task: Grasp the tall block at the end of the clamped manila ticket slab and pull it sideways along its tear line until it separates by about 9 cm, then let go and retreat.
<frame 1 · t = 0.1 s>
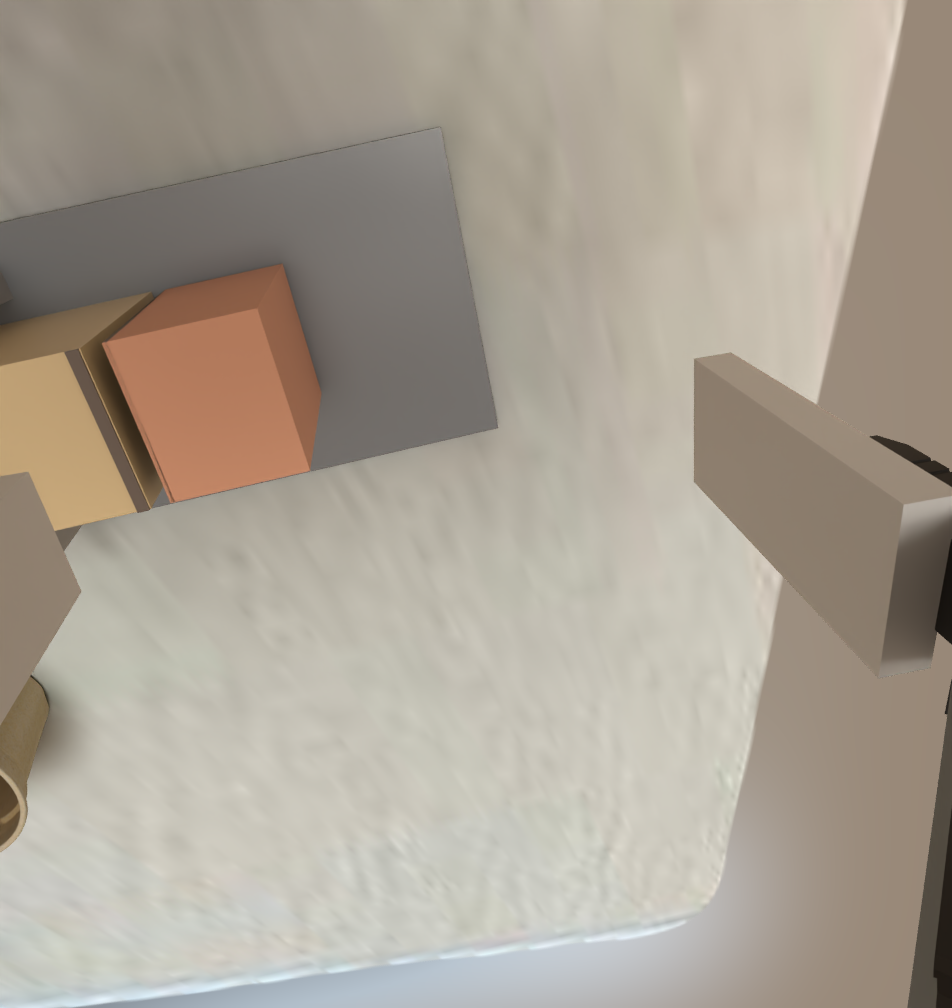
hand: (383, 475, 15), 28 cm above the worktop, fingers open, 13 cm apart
holder: (143, 361, 41), on the worktop
block: (231, 372, 35), point 6 cm above the worktop, slide at 0.0 cm
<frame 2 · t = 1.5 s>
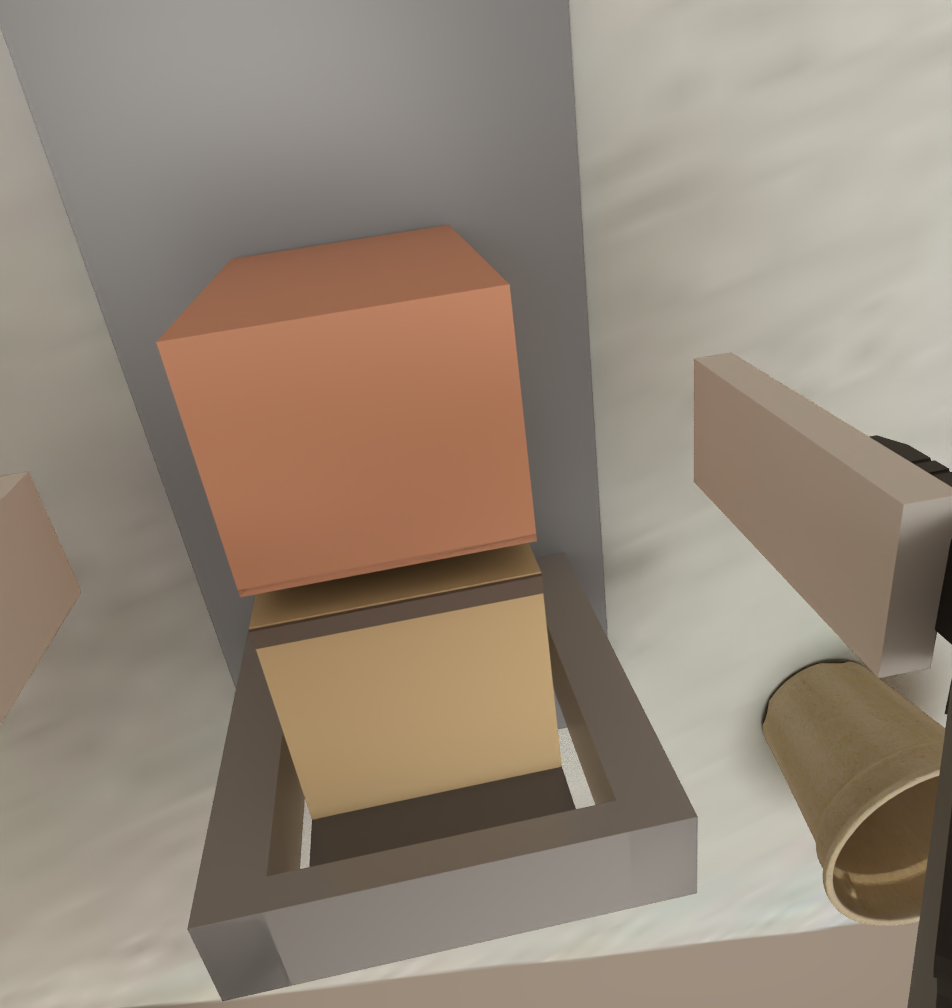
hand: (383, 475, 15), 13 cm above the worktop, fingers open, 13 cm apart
flower pot: (817, 704, 39), on the worktop
holder: (389, 473, 29), on the worktop
block: (362, 379, 21), point 6 cm above the worktop, slide at 0.0 cm
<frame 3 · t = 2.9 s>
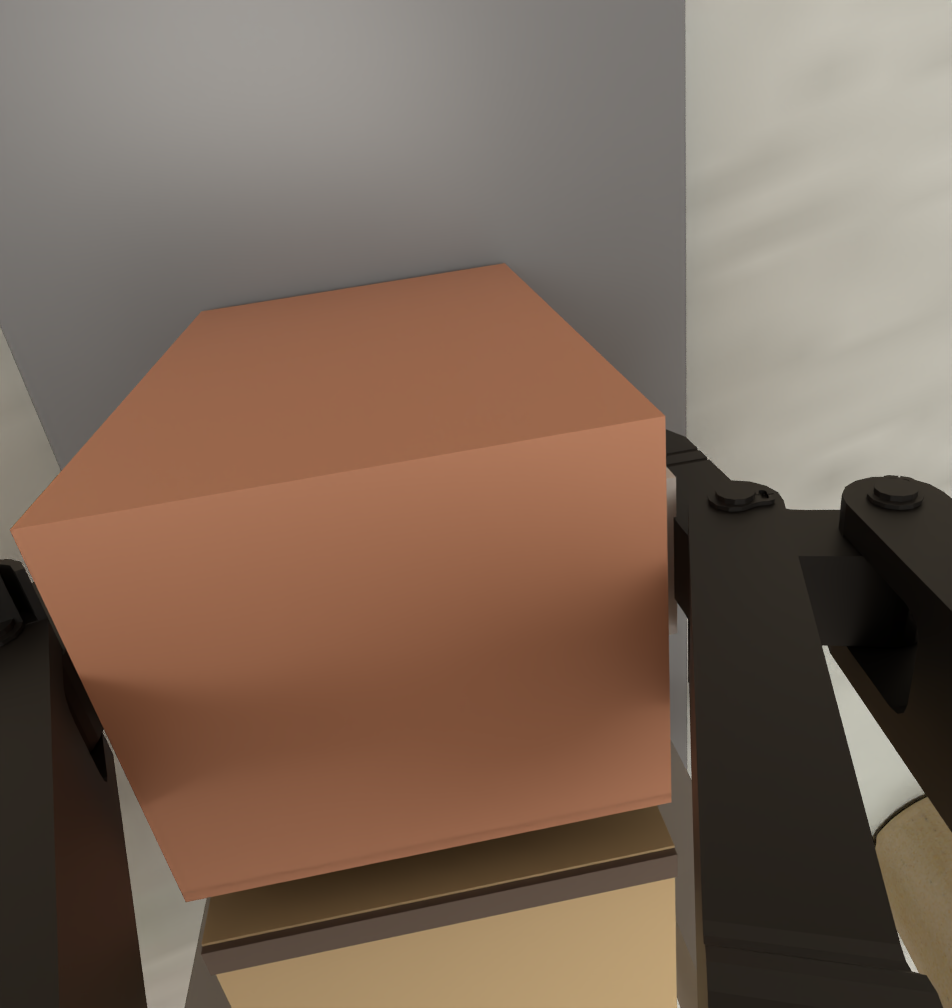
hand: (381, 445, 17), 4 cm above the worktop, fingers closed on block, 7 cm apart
flower pot: (933, 835, 32), on the worktop
holder: (415, 580, 22), on the worktop
block: (384, 503, 14), point 6 cm above the worktop, slide at 0.0 cm, touching gripper
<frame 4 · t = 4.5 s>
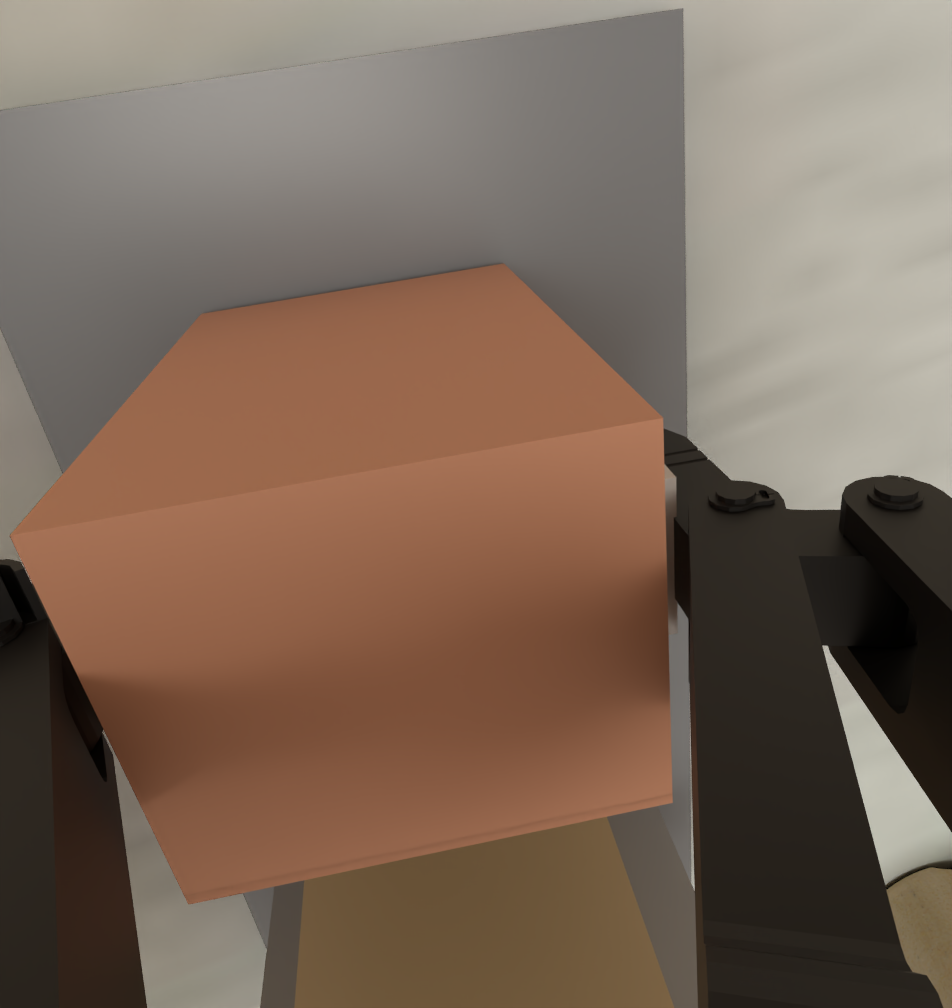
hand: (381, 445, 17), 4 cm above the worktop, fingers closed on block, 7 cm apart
flower pot: (922, 904, 34), on the worktop
holder: (441, 700, 25), on the worktop
block: (385, 504, 14), point 6 cm above the worktop, slide at 4.7 cm, touching gripper
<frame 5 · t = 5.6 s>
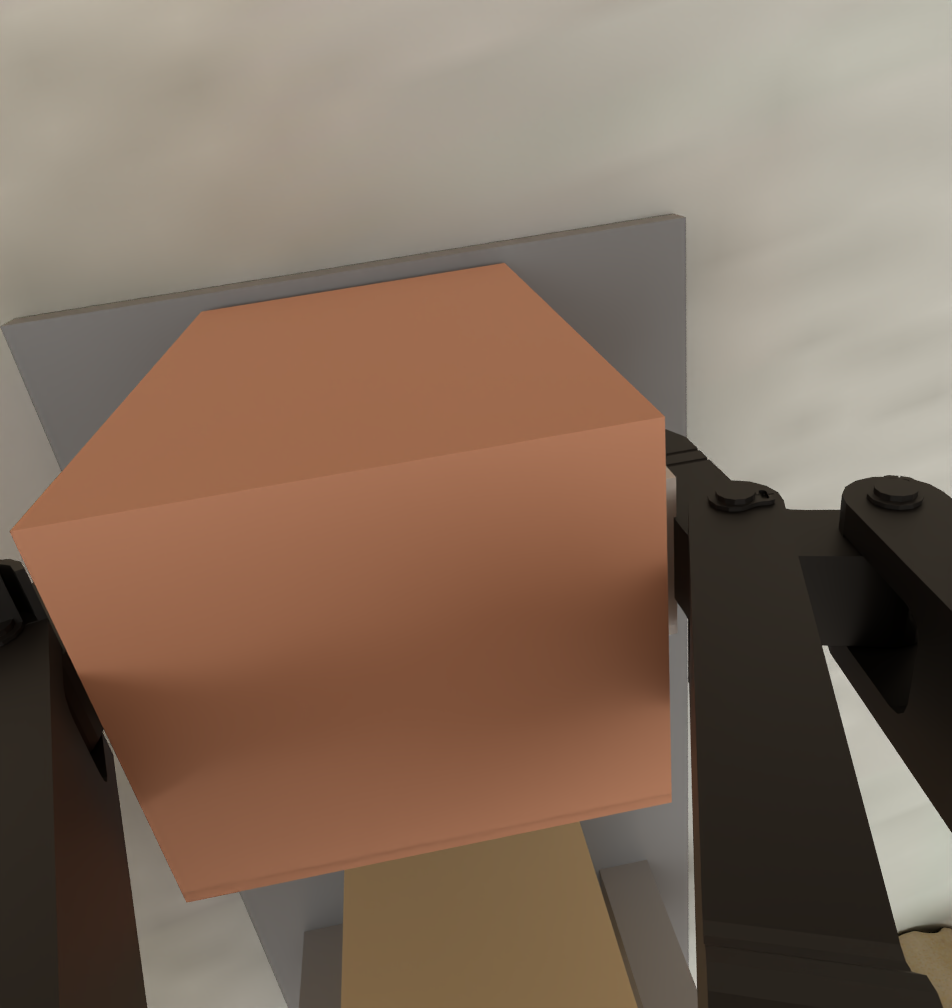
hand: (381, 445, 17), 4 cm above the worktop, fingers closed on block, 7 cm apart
flower pot: (906, 963, 36), on the worktop
holder: (458, 791, 27), on the worktop
block: (385, 503, 14), point 6 cm above the worktop, slide at 8.9 cm, touching gripper
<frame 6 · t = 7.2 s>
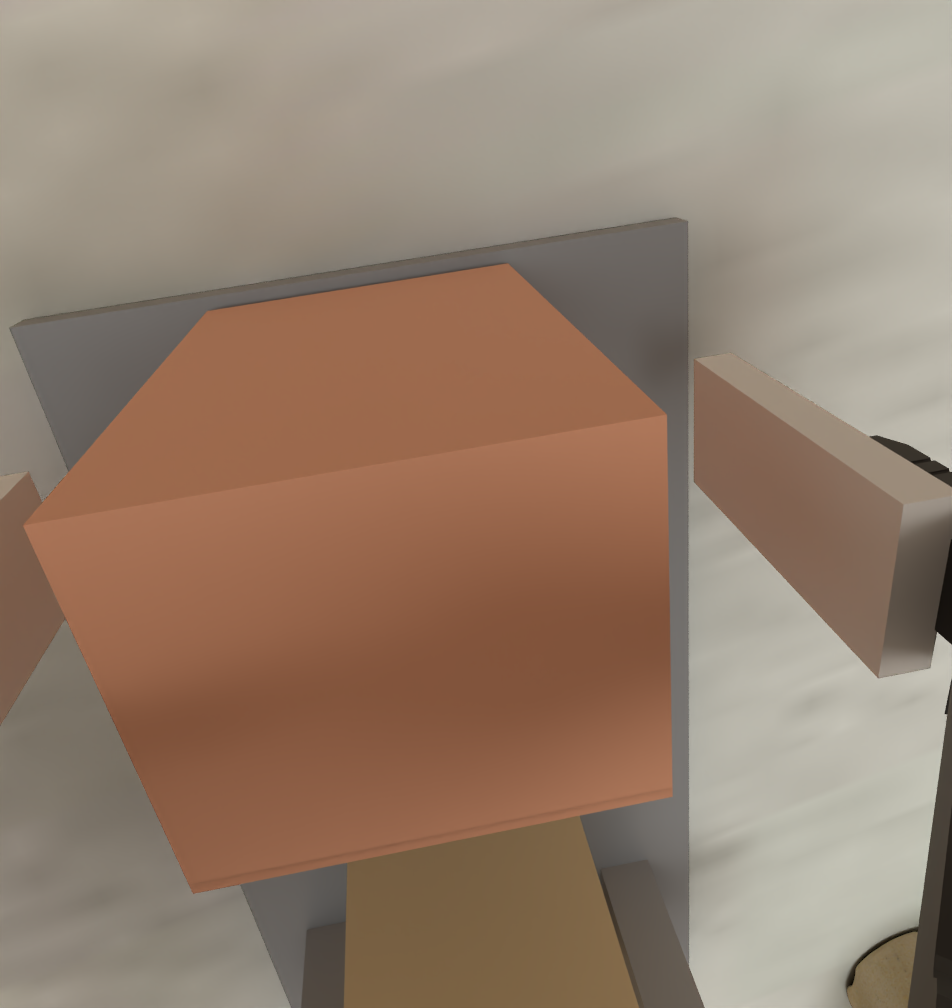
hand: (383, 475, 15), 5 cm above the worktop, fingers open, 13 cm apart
flower pot: (906, 963, 36), on the worktop
holder: (460, 791, 27), on the worktop
block: (389, 501, 14), point 6 cm above the worktop, slide at 9.0 cm
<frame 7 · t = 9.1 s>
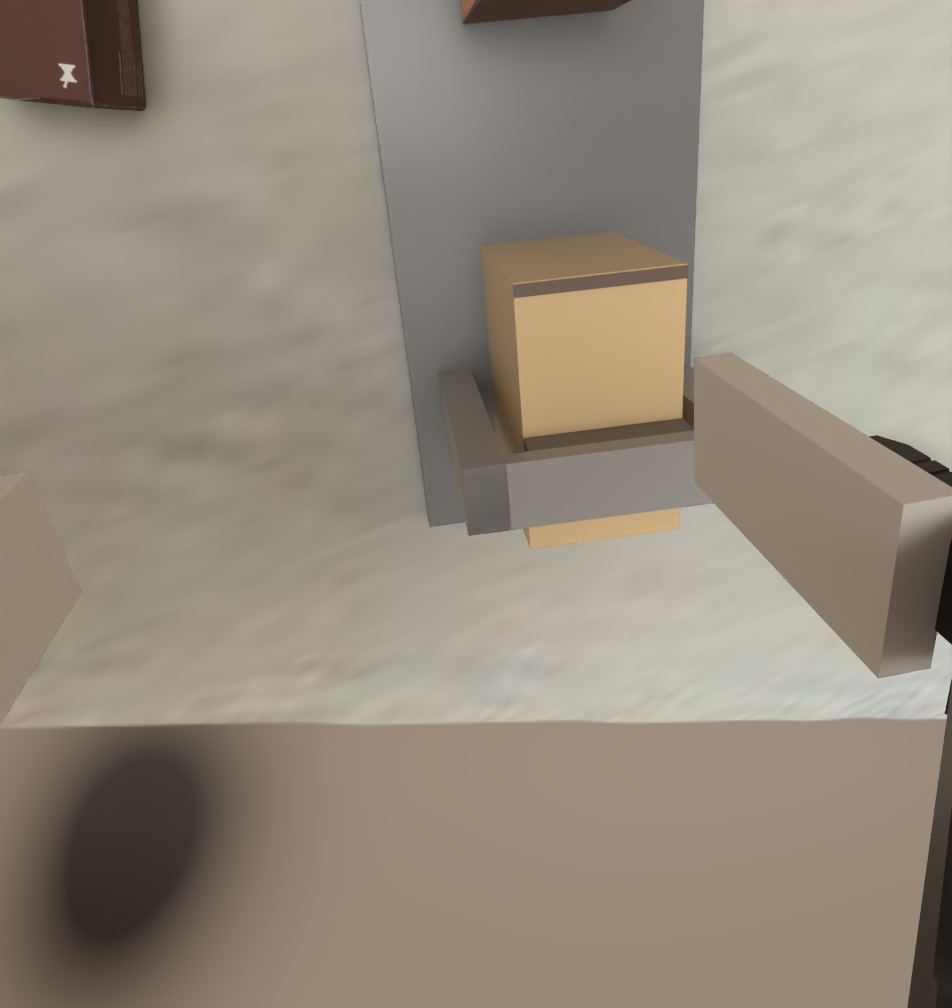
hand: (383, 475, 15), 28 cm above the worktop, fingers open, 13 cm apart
box: (74, 31, 34), on the worktop
holder: (545, 274, 41), on the worktop
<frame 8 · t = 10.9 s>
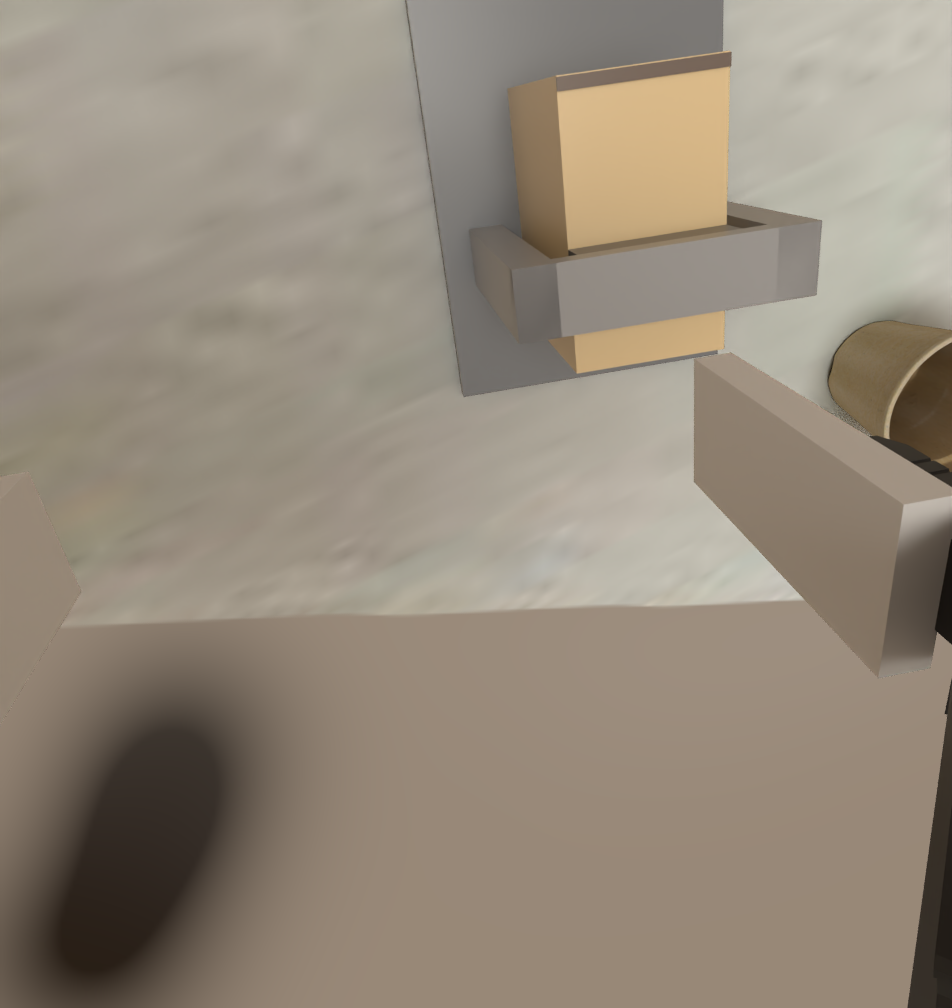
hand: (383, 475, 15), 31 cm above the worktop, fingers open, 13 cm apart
flower pot: (870, 366, 50), on the worktop
holder: (572, 122, 41), on the worktop
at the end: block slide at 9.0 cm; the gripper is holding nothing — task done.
